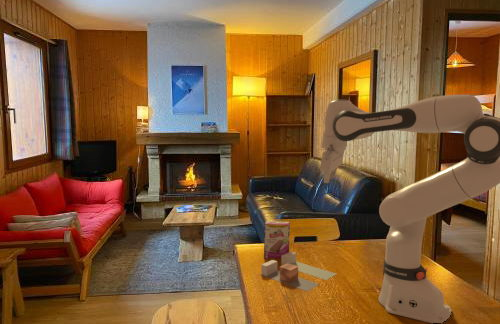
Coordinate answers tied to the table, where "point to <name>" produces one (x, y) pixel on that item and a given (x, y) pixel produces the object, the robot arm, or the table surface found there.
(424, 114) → the robot arm
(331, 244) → the table surface
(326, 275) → the sage green strip
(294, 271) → the terracotta block
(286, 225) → the candy bar box
